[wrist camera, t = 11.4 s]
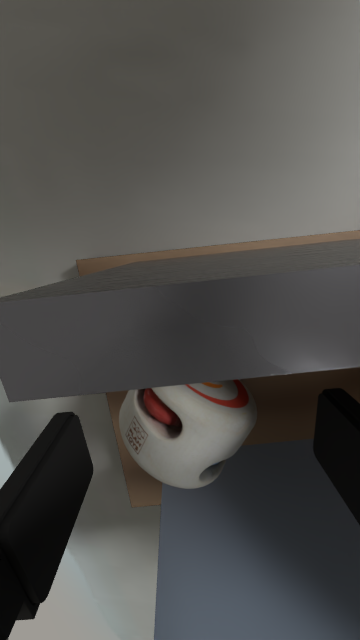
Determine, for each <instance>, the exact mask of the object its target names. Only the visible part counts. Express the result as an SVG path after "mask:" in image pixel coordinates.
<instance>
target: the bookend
mask: <svg viewBox="0 0 360 640" xmlns="http://www.w3.org/2000/svg"><path fill="white" fill-rule="evenodd" d="M355 367H360V239H351V240H339V241H330V242H320V243H310V244H301V245H291V246H282V247H272V248H263V249H253V250H244V251H234V252H225V253H215V254H206V255H196V256H187V257H177V258H167V259H158V260H148V261H139V262H132V263H129V264H125V265H121V266H117V267H114V268H110V269H106V270H102V271H99V272H95V273H91V274H87V275H84V276H80V277H76V278H72V279H69V280H65V281H61V282H57V283H54V284H50V285H46V286H43V287H39V288H35V289H31V290H28V291H24V292H20V293H16V294H13V295H9V296H5V297H1V298H0V378H1V381H2V383H3V386H4V389H5V391H6V394H7V397H8V400H9V402H16V401H26V400H36V399H46V398H56V397H66V396H76V395H86V394H96V393H106V392H116V391H126V390H136V389H146V388H156V387H166V386H176V385H186V384H196V383H206V382H216V381H226V380H236V379H246V378H256V377H265V376H275V375H285V374H295V373H305V372H315V371H325V370H335V369H345V368H355Z"/></svg>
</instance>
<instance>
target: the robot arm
mask: <svg viewBox="0 0 360 640" xmlns="http://www.w3.org/2000/svg"><path fill="white" fill-rule="evenodd" d="M313 452H314V455H315V457H316V459H317V460H318V462H319V463H320V465H321V467H322V468H323V470H324V471H325V473H326V474H327V476H328V477H329V479H330V480H331V482H332V483H333V485H334V487H335V488H336V490H337V491H338V493H339V494H340V496H341V497H342V499H343V500H344V502H345V504H346V505H347V507H348V508H349V510H350V511H351V513H352V514H353V516H354V517H355V519H356V520H357V522H358V524H359V525H360V403H359V402H357V401H356V400H355V399H354V398H353V397H352V396H350V395H349V394H348V393H347V392H346V391H345V390H343V389H342V388H332V389H324V390H323V391H322V393H321V394H319V396H318V403H317V413H316V422H315V432H314V442H313ZM92 475H93V464H92V461H91V457H90V454H89V450H88V447H87V444H86V440H85V437H84V433H83V430H82V426H81V423H80V420H79V417H78V416H77V415H75V414H74V413H73V412H63V413H57V414H55V415H54V416H53V418H52V419H51V421H50V422H49V423H48V425H47V426H46V427H45V429H44V430H43V432H42V433H41V434H40V436H39V437H38V438H37V440H36V441H35V443H34V444H33V445H32V447H31V448H30V449H29V451H28V452H27V453H26V455H25V456H24V458H23V459H22V460H21V462H20V463H19V464H18V466H17V467H16V469H15V470H14V471H13V473H12V474H11V476H10V477H9V478H8V480H7V481H6V482H5V484H4V485H3V487H2V488H1V489H0V640H8V637H9V635H10V633H11V630H12V628H13V626H14V623H15V621H16V620H28V619H34V618H35V615H36V612H37V610H38V607H39V605H40V603H42V602H44V601H45V599H46V598H47V596H48V594H49V591H50V589H51V586H52V583H53V580H54V578H55V575H56V572H57V570H58V567H59V564H60V562H61V559H62V556H63V554H64V551H65V548H66V545H67V543H68V540H69V537H70V535H71V532H72V529H73V527H74V524H75V521H76V519H77V516H78V513H79V511H80V508H81V505H82V502H83V500H84V497H85V494H86V492H87V489H88V486H89V484H90V481H91V478H92Z"/></svg>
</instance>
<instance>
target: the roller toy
mask: <svg viewBox="0 0 360 640" xmlns="http://www.w3.org/2000/svg"><path fill="white" fill-rule="evenodd" d="M256 420H257V408H256V403H255V400H254V398H253V396H252V394H251V393H250V391H249V390H248V388H247V387H246V386H245V384H244V383H243V382H242V381H241V380H240V379H236V380H226V381H216V382H206V383H196V384H186V385H176V386H166V387H156V388H146V389H136V390H129V391H128V393H127V395H126V398H125V400H124V402H123V404H122V406H121V409H120V413H119V426H120V431H121V435H122V439H123V441H124V444H125V446H126V448H127V450H128V451H129V453H130V455H131V456H132V457H133V459H134V460H135V461H136V462H137V463H138V465H139V466H140V467H141V468H142V469H144V470H145V471H146V472H147V473H148V474H150V475H151V476H153V477H154V478H156V479H157V480H159V481H161V482H163V483H165V484H168V485H170V486H174V487H178V488H184V489H194V488H199V487H203V486H206V485H208V484H210V483H212V482H213V481H214V480H215V479H216V478H217V477H218V476H219V475H220V473H221V471H222V469H223V467H224V464H225V462H226V459H228V458H230V457H231V456H233V455H234V454H235V453H236V452H237V450H238V449H239V448H240V446H241V445H242V443H243V442H244V440H245V439H246V438H247V436H248V435H249V433H250V432H251V430H252V429H253V427H254V425H255V423H256Z"/></svg>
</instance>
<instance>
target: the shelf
mask: <svg viewBox="0 0 360 640" xmlns="http://www.w3.org/2000/svg"><path fill="white" fill-rule="evenodd" d="M351 239H360V230H357V231H348V232H338V233H329V234H319V235H310V236H300V237H291V238H281V239H272V240H262V241H253V242H243V243H234V244H224V245H215V246H205V247H196V248H186V249H177V250H167V251H158V252H148V253H138V254H129V255H119V256H110V257H100V258H91V259H81V260H76V262H77V267H78V271H79V276H84V275H87V274H91V273H95V272H99V271H102V270H106V269H110V268H114V267H117V266H121V265H125V264H129V263H132V262H139V261H148V260H158V259H167V258H177V257H187V256H196V255H206V254H215V253H225V252H234V251H244V250H253V249H263V248H272V247H282V246H291V245H301V244H310V243H320V242H330V241H339V240H351ZM240 380H241V381H242V382H243V383H244V384H245V386H246V387H247V388H248V390H249V391H250V393H251V394H252V396H253V398H254V400H255V403H256V408H257V420H256V423H255V425H254V427H253V429H252V430H251V432H250V433H249V435H248V436H247V438H246V439H245V440H244V442H243V443H242V445H241V446H244V445H254V444H264V443H274V442H285V441H295V440H305V439H314V432H315V422H316V413H317V403H318V396H319V394H321V393H322V391H323V390H324V389H332V388H342V389H343V390H345V391H346V392H347V393H348V394H349V395H350V396H352V397H353V398H354V399H355V400H356V401H357V402H359V403H360V367H355V368H345V369H335V370H325V371H315V372H305V373H295V374H285V375H275V376H265V377H256V378H246V379H240ZM128 391H129V390H126V391H116V392H106V395H107V400H108V404H109V409H110V413H111V417H112V422H113V426H114V431H115V435H116V440H117V444H118V449H119V453H120V457H121V462H122V466H123V471H124V475H125V480H126V484H127V488H128V493H129V497H130V502H131V506H132V507H142V506H152V505H161V499H162V482H161V481H159V480H157V479H156V478H154V477H153V476H151V475H150V474H148V473H147V472H146V471H145V470H144V469H142V468H141V467H140V466H139V465H138V463H137V462H136V461H135V460H134V459H133V457H132V456H131V455H130V453H129V451H128V450H127V448H126V446H125V444H124V441H123V439H122V435H121V431H120V426H119V413H120V409H121V406H122V404H123V402H124V400H125V398H126V395H127V393H128Z"/></svg>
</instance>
